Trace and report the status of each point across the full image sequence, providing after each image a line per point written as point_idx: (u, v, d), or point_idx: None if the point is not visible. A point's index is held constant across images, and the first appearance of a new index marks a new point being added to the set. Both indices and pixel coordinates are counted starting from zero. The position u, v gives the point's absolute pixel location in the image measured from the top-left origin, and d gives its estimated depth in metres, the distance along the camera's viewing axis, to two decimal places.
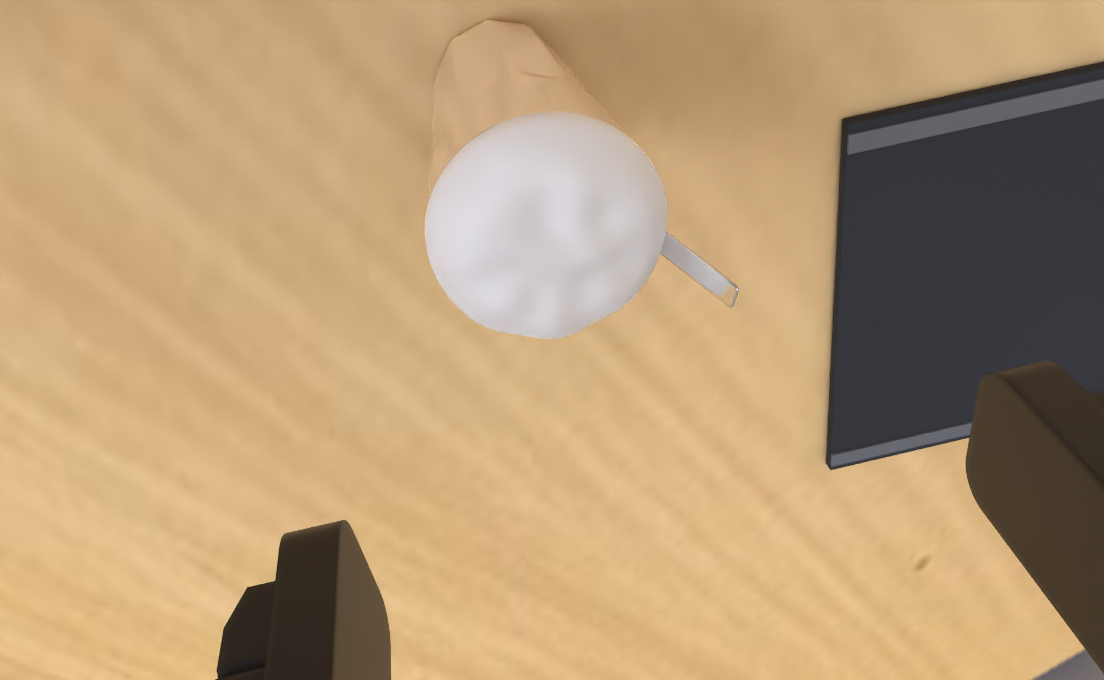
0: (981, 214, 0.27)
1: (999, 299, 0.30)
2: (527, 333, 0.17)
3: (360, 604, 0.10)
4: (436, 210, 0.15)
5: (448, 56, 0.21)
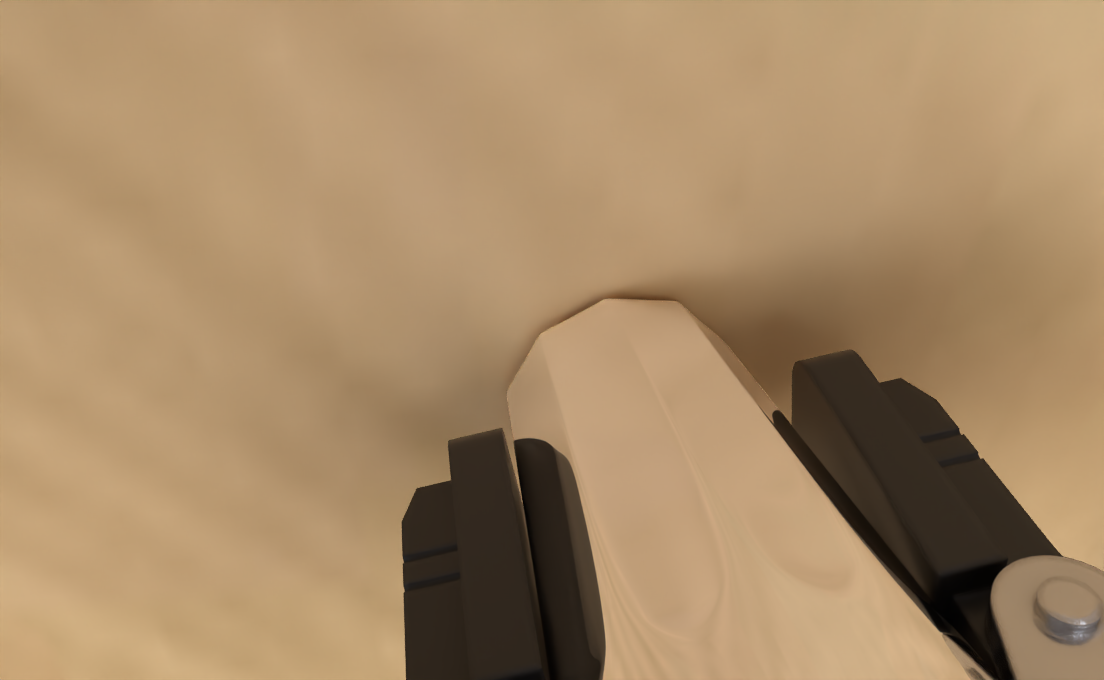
0: None
1: None
2: None
3: (518, 505, 0.11)
4: None
5: (542, 385, 0.11)
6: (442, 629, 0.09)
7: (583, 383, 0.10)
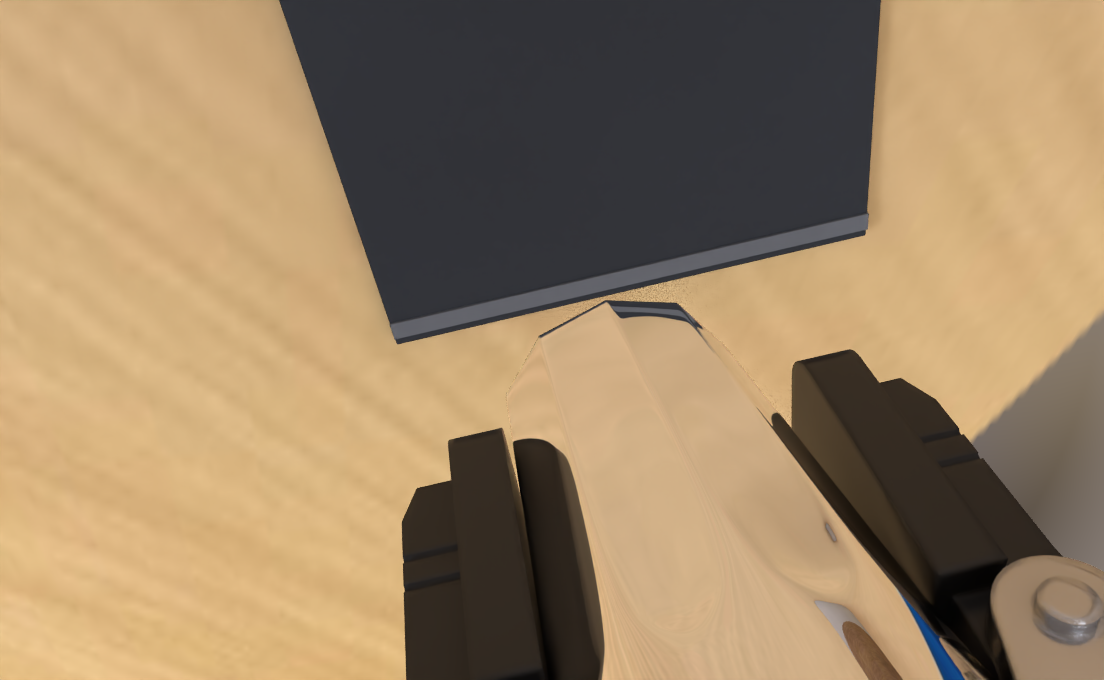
0: (464, 8, 0.23)
1: (531, 126, 0.25)
2: None
3: (519, 505, 0.11)
4: None
5: (541, 387, 0.11)
6: (442, 630, 0.09)
7: (582, 385, 0.11)
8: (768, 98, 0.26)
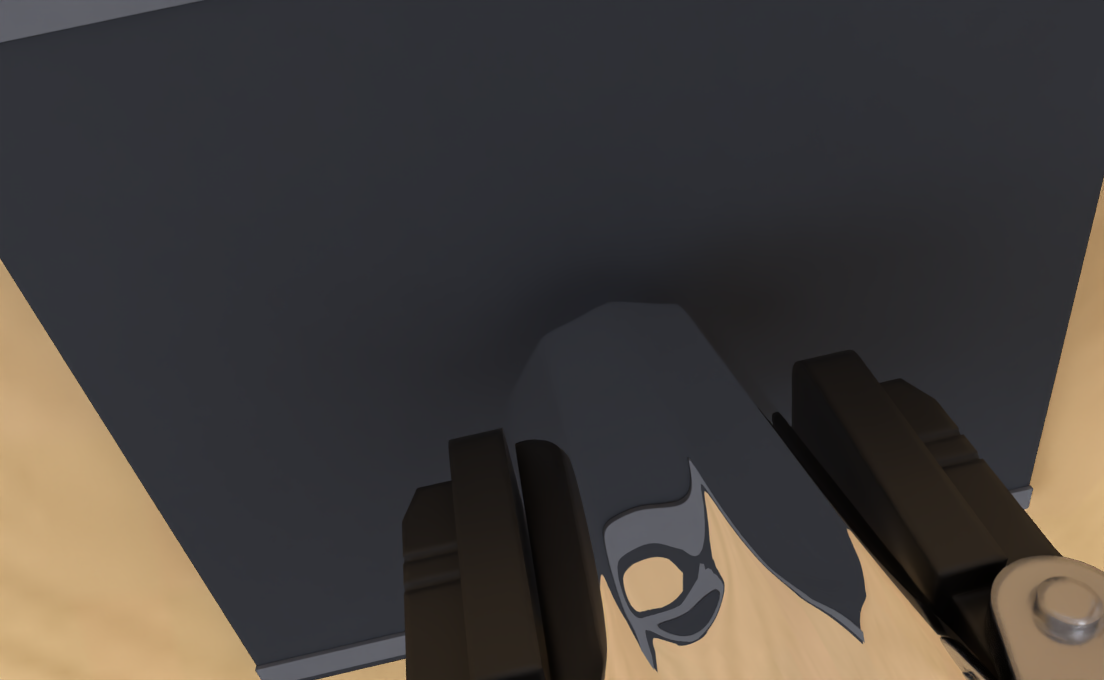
0: (342, 218, 0.12)
1: (478, 394, 0.14)
2: None
3: (518, 505, 0.11)
4: None
5: (543, 388, 0.11)
6: (442, 629, 0.09)
7: (584, 386, 0.11)
8: (890, 338, 0.15)
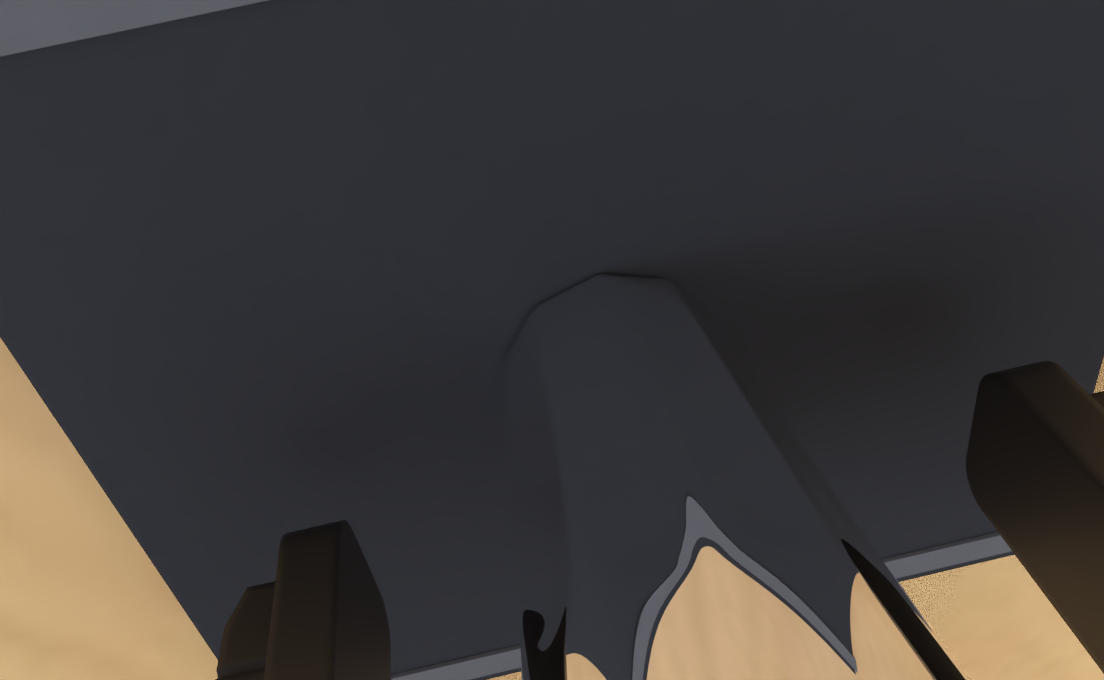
0: (337, 248, 0.11)
1: (482, 430, 0.14)
2: None
3: (360, 604, 0.10)
4: None
5: (532, 354, 0.12)
6: None
7: (569, 353, 0.11)
8: (917, 369, 0.14)
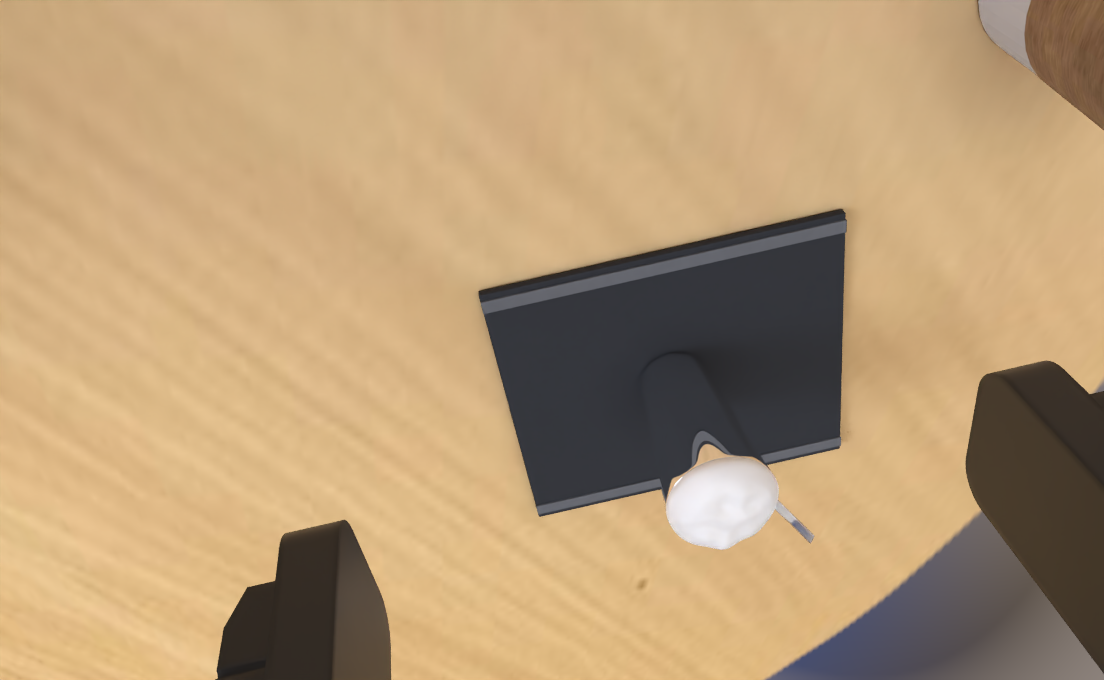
0: (596, 346, 0.40)
1: (630, 400, 0.42)
2: (711, 547, 0.35)
3: (360, 604, 0.10)
4: (675, 499, 0.34)
5: (651, 377, 0.40)
6: None
7: (663, 376, 0.39)
8: (774, 380, 0.42)
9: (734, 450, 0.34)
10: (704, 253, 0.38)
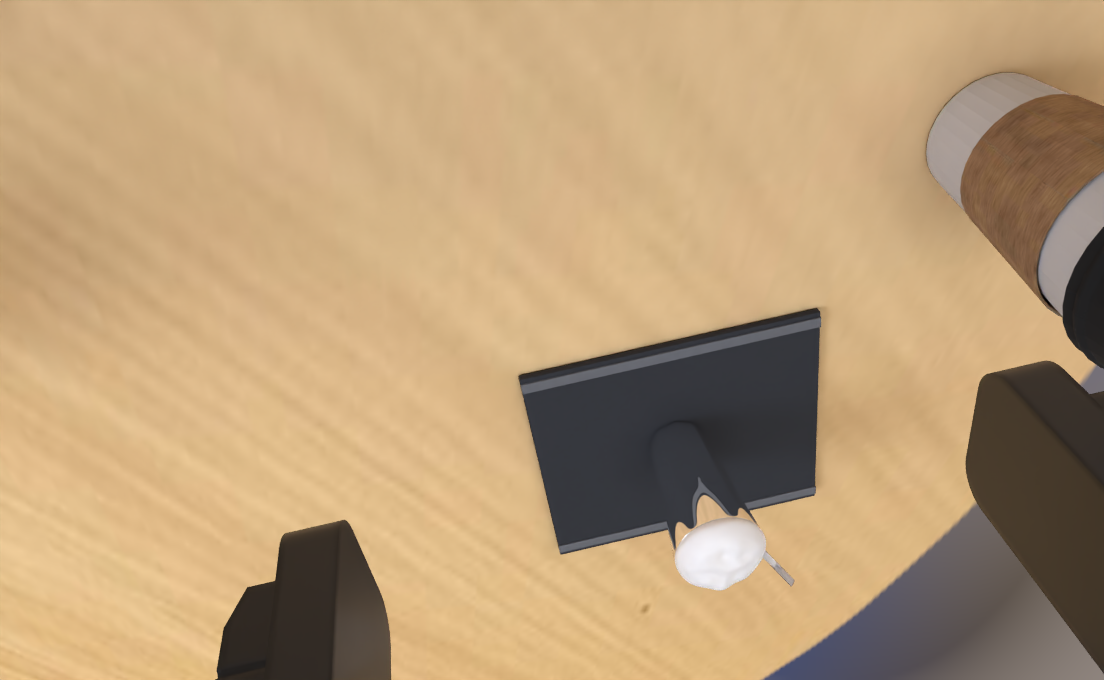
0: (613, 418, 0.48)
1: (641, 460, 0.50)
2: (711, 588, 0.44)
3: (360, 604, 0.10)
4: (683, 551, 0.42)
5: (659, 443, 0.48)
6: None
7: (669, 443, 0.47)
8: (761, 442, 0.51)
9: (730, 511, 0.42)
10: (704, 344, 0.46)
